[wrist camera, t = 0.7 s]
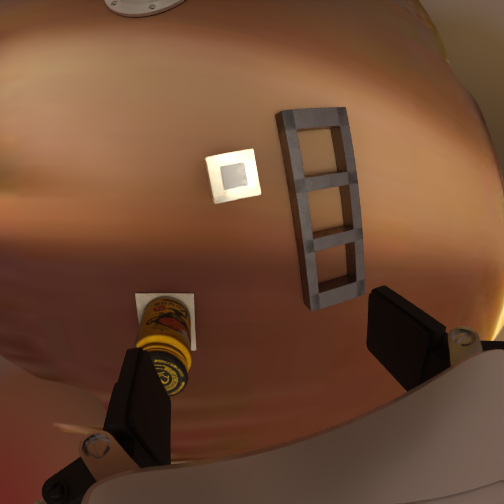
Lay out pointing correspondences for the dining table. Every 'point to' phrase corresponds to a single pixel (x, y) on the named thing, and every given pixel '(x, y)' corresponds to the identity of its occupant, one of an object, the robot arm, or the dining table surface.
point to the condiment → (167, 335)
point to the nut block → (232, 176)
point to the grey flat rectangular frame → (298, 187)
